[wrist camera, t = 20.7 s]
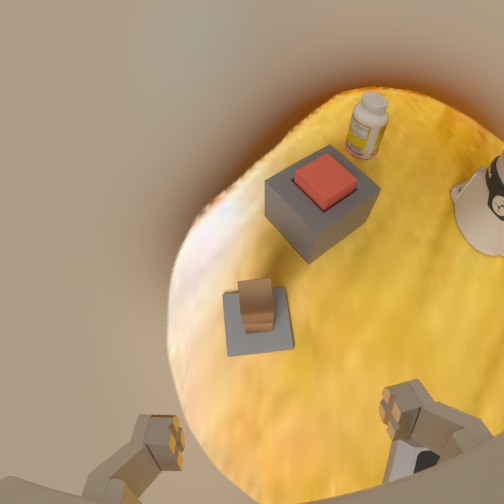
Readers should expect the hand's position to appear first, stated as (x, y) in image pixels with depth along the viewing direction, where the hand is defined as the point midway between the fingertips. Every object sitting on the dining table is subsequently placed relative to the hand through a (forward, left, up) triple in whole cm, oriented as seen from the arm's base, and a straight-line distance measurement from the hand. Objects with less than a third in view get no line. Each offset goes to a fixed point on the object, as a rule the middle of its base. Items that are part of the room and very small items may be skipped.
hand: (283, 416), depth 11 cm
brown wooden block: (-6, -10, -31) cm, 33 cm away
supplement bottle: (-43, -25, -32) cm, 59 cm away
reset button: (-24, -18, -25) cm, 39 cm away
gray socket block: (-24, -18, -31) cm, 43 cm away
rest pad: (-6, -10, -31) cm, 34 cm away
